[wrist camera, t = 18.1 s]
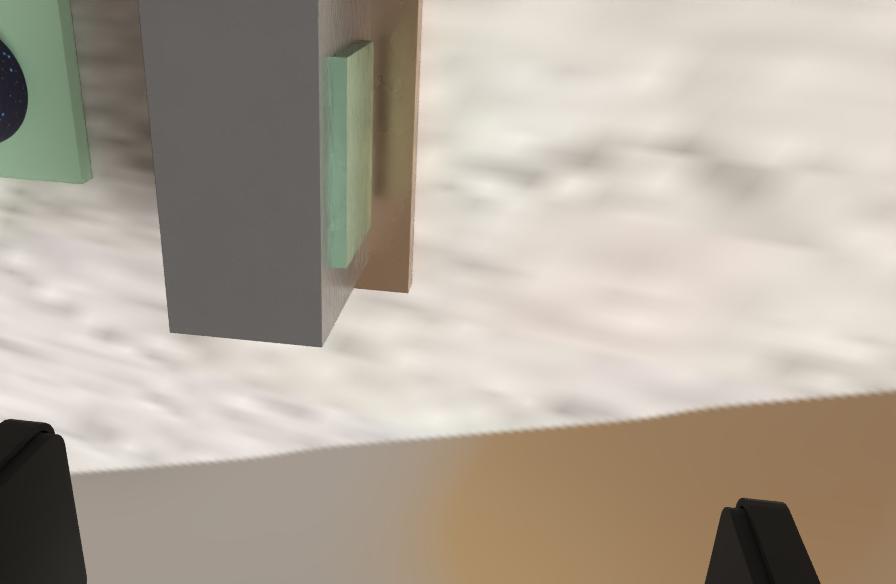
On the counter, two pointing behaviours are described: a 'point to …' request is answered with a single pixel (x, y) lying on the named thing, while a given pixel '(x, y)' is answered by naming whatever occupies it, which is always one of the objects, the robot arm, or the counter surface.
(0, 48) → the beverage can
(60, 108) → the sage mat
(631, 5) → the counter surface
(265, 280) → the mounted unit
